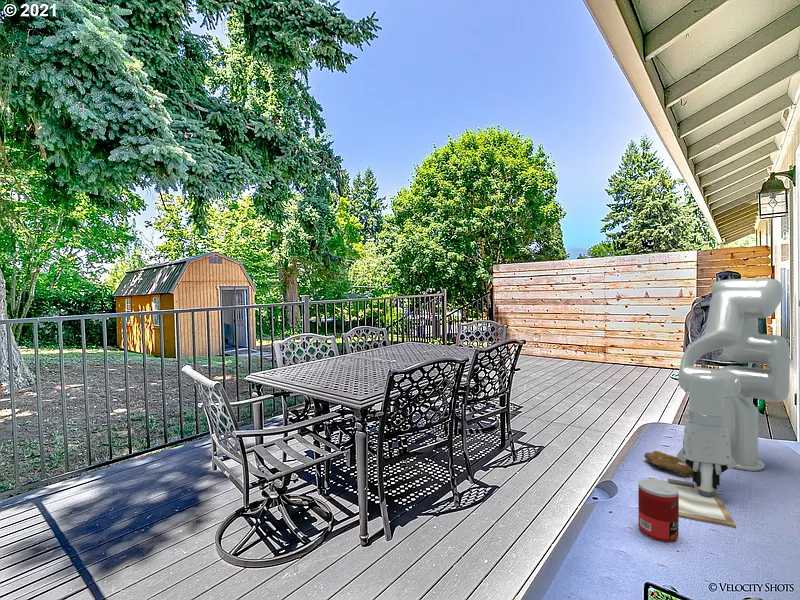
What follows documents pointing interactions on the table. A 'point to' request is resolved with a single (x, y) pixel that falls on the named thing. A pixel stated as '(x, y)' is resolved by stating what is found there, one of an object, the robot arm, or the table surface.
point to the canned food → (658, 510)
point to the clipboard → (700, 504)
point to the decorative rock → (669, 463)
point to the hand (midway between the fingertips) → (705, 485)
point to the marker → (706, 480)
